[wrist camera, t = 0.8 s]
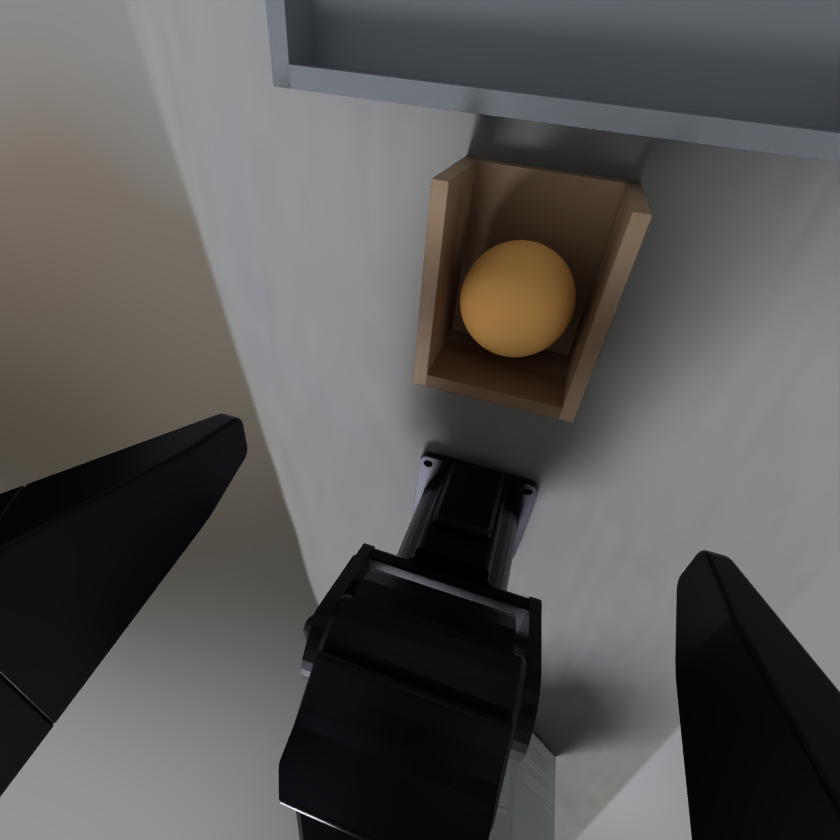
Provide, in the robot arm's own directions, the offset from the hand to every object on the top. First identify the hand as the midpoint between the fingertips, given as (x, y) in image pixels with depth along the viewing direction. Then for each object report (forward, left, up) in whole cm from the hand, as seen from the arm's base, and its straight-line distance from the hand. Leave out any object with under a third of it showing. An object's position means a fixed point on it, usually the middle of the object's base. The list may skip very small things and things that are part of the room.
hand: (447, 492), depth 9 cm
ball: (0, 0, -10) cm, 10 cm away
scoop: (0, 0, -12) cm, 12 cm away
